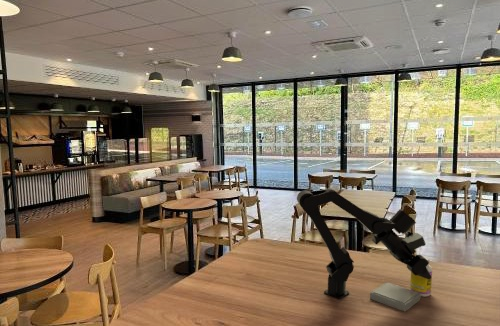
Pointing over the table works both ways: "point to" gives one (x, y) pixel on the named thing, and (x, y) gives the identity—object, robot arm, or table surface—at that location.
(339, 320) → the table surface
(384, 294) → the slate base
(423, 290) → the supplement bottle
